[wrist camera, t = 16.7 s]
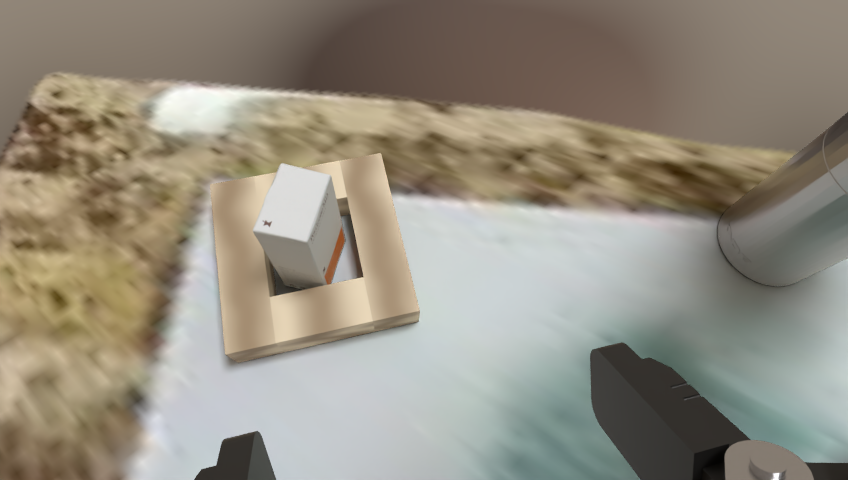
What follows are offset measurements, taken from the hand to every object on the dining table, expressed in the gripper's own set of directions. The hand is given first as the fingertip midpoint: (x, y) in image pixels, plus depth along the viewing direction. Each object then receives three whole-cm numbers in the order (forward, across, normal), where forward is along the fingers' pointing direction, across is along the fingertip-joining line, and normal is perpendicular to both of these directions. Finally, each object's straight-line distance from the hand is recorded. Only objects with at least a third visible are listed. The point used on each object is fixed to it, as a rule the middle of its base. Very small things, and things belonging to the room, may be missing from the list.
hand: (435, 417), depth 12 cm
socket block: (+36, +5, +10) cm, 38 cm away
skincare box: (+36, +5, +10) cm, 38 cm away
